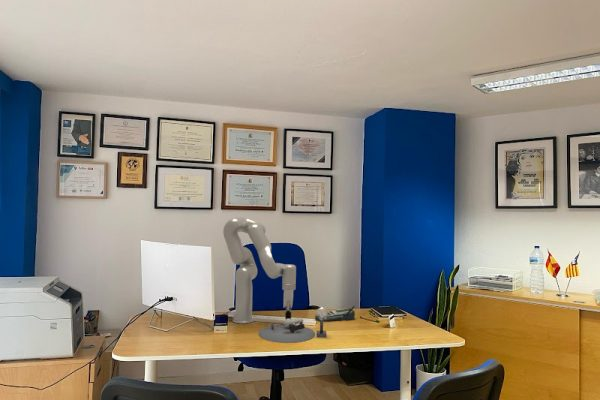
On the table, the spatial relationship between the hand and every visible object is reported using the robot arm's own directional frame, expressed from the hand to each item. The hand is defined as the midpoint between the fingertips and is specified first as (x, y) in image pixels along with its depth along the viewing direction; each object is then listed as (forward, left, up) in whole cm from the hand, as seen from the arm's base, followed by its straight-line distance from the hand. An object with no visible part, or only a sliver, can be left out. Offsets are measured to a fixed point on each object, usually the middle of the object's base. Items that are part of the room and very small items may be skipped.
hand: (288, 319), depth 228 cm
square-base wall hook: (+18, -19, -3) cm, 26 cm away
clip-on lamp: (0, -11, -3) cm, 11 cm away
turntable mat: (0, -16, -3) cm, 16 cm away
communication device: (+27, +15, -4) cm, 31 cm away
